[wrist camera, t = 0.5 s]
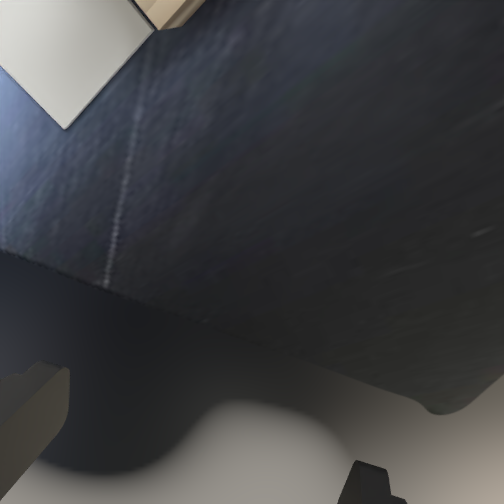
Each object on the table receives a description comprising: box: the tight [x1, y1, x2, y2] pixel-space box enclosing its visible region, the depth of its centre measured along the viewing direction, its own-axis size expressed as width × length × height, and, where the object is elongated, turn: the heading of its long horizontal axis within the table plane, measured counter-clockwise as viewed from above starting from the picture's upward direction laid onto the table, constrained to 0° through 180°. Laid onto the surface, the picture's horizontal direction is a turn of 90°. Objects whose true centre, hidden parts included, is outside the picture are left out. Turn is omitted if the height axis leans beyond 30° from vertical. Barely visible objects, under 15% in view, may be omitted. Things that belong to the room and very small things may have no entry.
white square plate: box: [0, 0, 154, 129], centre depth 31 cm, size 12×12×1 cm
